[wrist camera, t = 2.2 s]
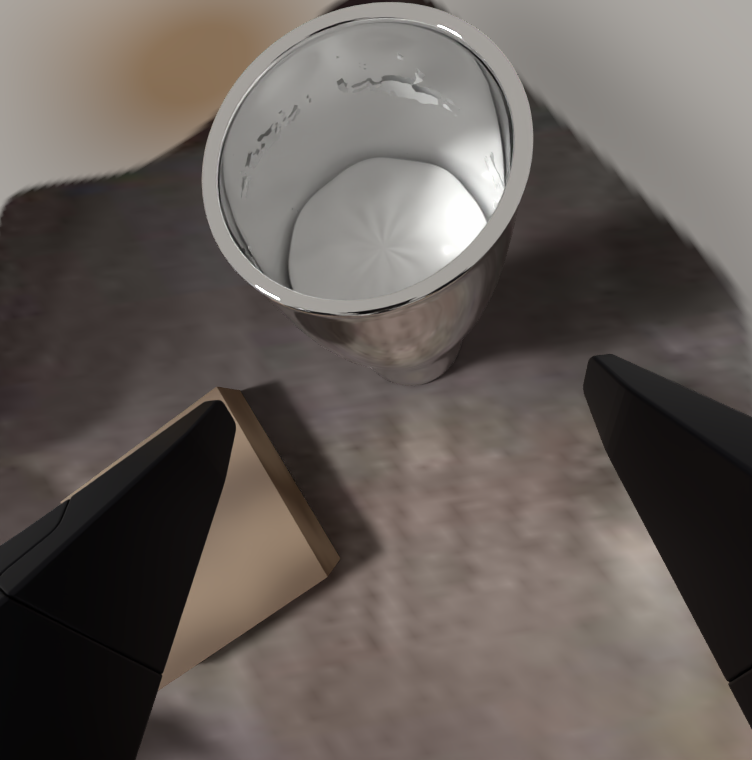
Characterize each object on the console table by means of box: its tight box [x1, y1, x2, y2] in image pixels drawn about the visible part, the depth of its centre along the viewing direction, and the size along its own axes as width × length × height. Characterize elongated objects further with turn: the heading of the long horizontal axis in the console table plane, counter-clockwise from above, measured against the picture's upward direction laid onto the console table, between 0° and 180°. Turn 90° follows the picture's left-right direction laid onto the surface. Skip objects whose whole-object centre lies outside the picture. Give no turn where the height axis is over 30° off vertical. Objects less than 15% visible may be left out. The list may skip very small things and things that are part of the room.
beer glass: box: [202, 2, 533, 386], centre depth 14 cm, size 7×7×15 cm
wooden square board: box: [60, 387, 340, 691], centre depth 21 cm, size 12×12×2 cm
